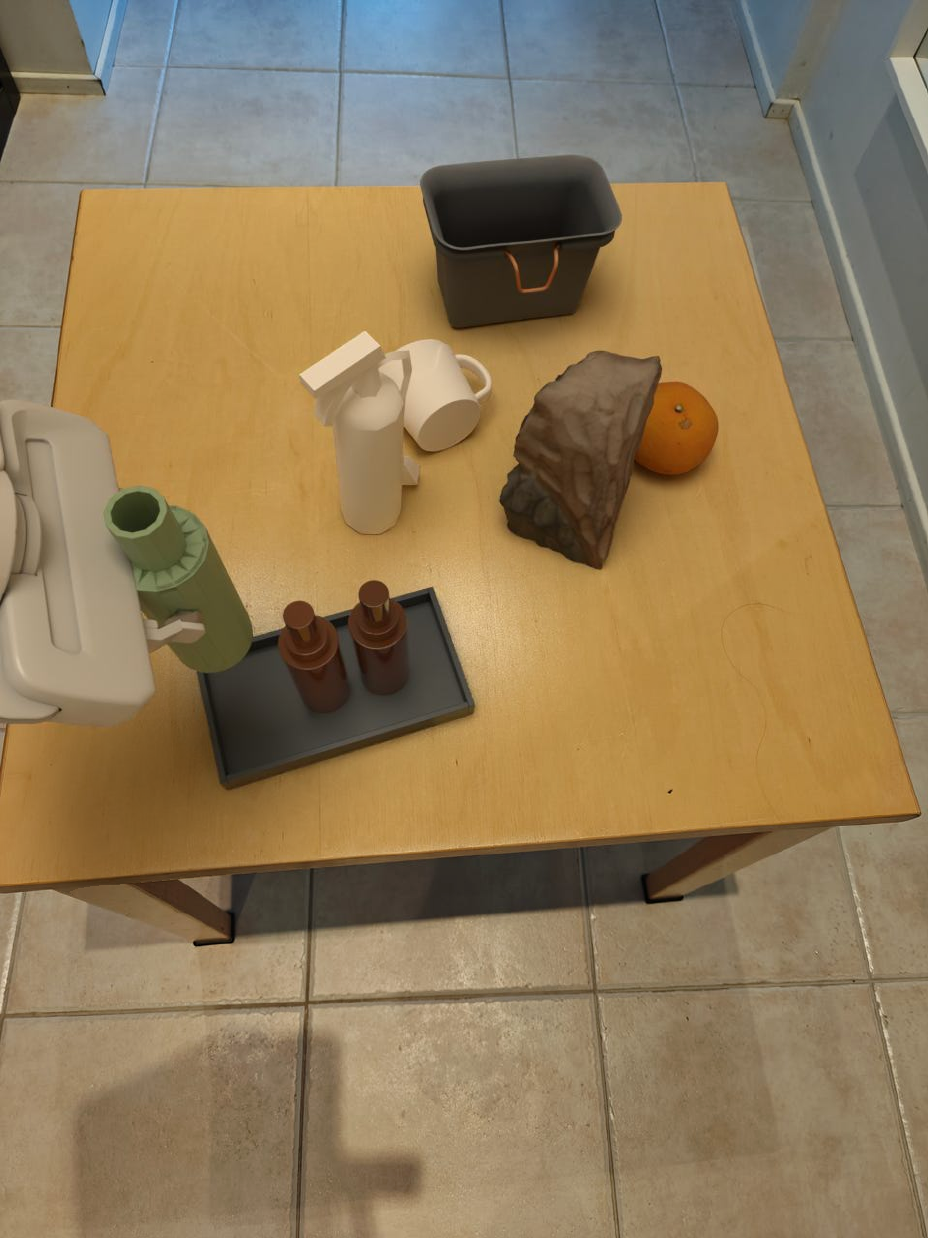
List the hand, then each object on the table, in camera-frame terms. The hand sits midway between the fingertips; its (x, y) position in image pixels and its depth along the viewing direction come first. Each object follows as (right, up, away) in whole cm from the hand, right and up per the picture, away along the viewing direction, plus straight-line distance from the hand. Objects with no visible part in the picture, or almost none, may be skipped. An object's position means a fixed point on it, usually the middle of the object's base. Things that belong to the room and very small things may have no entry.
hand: (188, 578), depth 52 cm
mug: (+15, +21, +40) cm, 48 cm away
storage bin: (+24, +37, +48) cm, 65 cm away
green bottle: (-1, -4, +8) cm, 9 cm away
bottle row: (+8, -9, +25) cm, 28 cm away
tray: (+6, -10, +25) cm, 28 cm away
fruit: (+41, +17, +39) cm, 59 cm away
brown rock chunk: (+30, +8, +35) cm, 46 cm away
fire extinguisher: (+9, +10, +34) cm, 37 cm away
